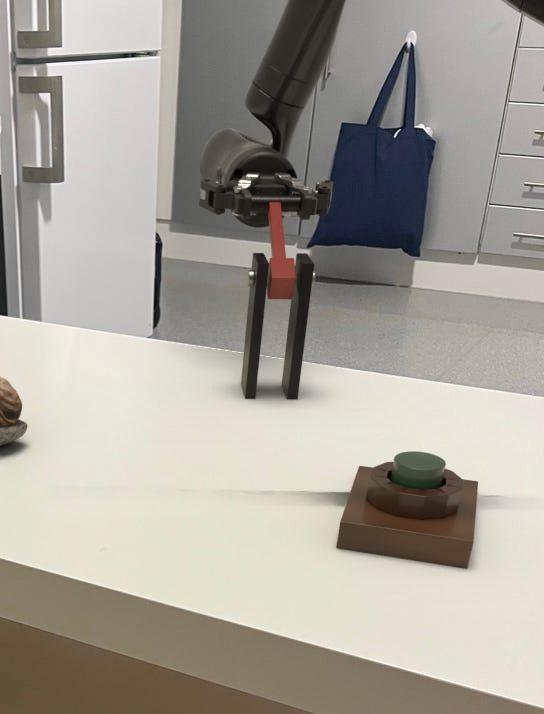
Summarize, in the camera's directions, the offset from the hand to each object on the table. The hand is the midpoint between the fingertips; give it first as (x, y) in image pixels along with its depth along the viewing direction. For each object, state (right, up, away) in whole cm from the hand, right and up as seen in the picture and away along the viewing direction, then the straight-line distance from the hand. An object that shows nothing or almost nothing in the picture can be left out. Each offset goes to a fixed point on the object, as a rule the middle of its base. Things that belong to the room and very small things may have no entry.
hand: (277, 207), depth 96 cm
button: (+5, -30, -22) cm, 37 cm away
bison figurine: (-29, -23, -5) cm, 38 cm away
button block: (+5, -33, -20) cm, 39 cm away
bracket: (0, -18, +3) cm, 18 cm away
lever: (0, -4, 0) cm, 4 cm away
